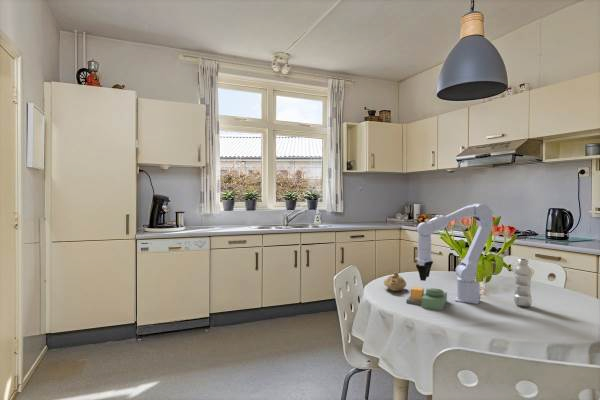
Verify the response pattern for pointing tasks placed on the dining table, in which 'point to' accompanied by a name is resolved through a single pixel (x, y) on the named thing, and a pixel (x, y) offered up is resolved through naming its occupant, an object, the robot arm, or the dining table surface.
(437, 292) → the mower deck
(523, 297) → the plastic bottle
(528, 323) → the dining table surface
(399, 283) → the oil lamp
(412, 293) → the chute block
